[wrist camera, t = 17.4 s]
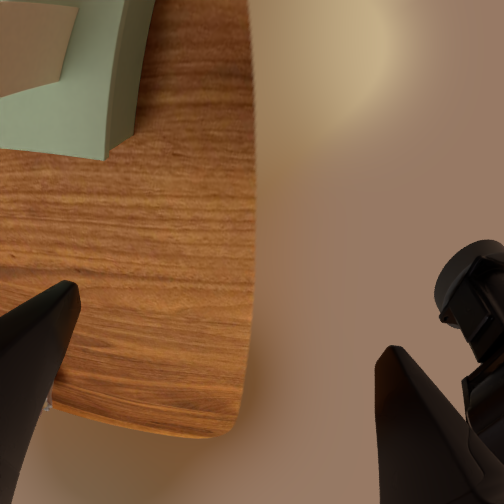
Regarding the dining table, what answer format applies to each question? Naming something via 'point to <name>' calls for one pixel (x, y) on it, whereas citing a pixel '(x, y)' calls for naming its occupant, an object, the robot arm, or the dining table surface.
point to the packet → (32, 44)
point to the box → (84, 85)
